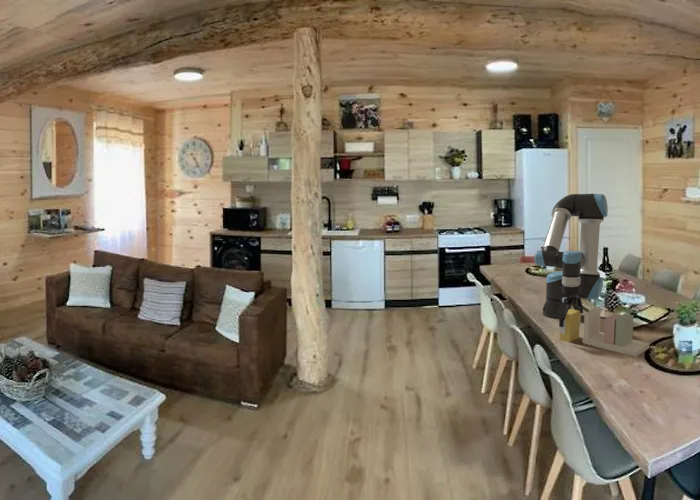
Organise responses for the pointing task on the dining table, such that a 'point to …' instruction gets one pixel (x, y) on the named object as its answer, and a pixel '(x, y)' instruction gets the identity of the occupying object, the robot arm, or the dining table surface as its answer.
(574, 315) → the book
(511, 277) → the dining table surface
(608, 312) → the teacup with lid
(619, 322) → the block stand tray
